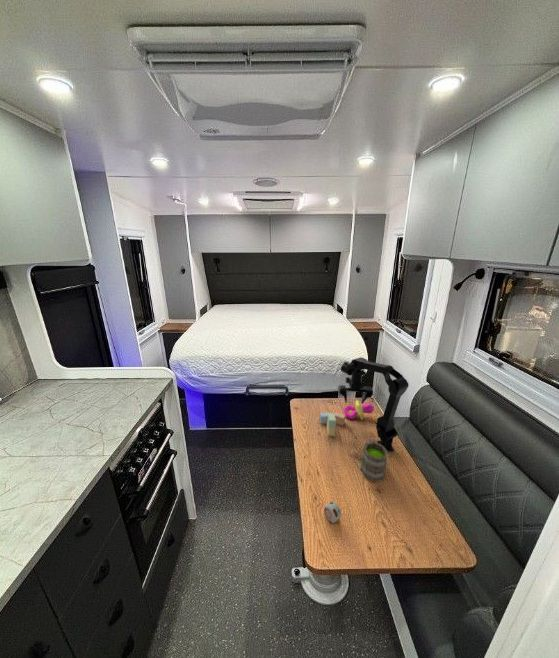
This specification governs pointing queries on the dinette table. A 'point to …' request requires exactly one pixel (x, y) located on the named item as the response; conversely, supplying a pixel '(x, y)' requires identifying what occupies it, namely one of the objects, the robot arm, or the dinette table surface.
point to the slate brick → (323, 418)
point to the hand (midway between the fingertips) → (353, 403)
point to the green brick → (331, 420)
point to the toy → (358, 410)
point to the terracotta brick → (340, 418)
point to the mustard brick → (330, 431)
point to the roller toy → (332, 512)
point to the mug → (374, 461)
